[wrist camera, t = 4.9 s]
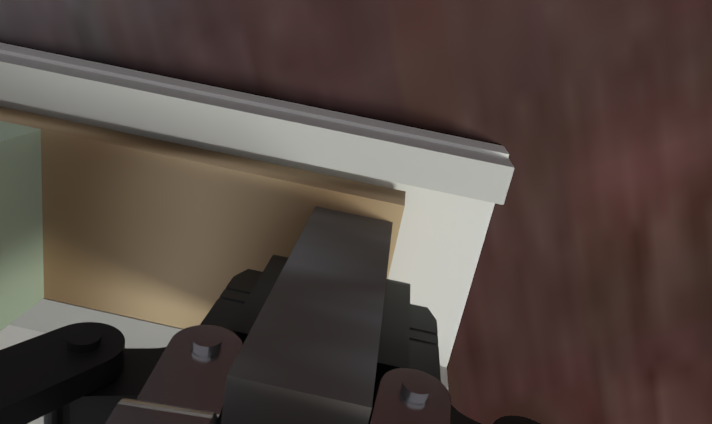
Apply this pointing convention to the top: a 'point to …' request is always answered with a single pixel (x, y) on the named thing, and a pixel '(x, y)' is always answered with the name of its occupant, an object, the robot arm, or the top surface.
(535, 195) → the top surface
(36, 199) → the block
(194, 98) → the lane board
